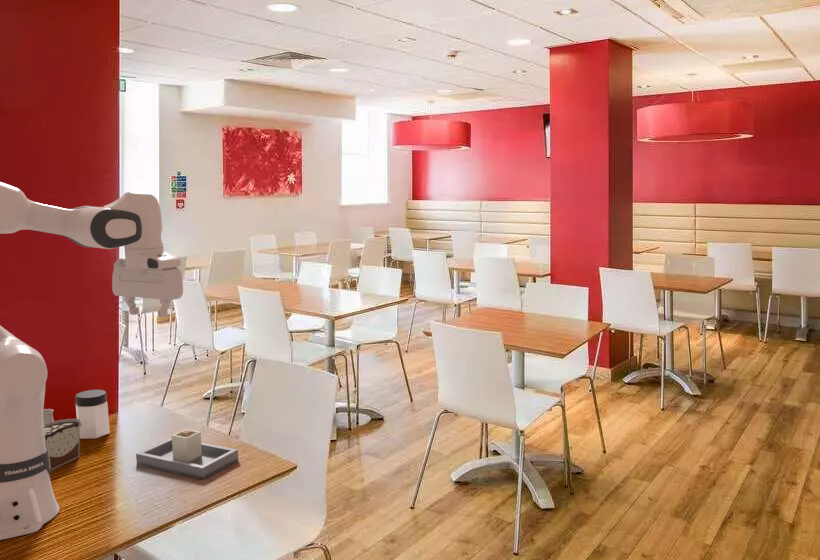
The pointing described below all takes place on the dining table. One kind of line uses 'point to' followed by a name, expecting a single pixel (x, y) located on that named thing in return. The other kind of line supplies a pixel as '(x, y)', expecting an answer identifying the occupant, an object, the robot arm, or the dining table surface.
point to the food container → (62, 441)
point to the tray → (200, 469)
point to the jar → (92, 413)
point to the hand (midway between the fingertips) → (148, 315)
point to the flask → (48, 416)
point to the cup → (187, 446)
